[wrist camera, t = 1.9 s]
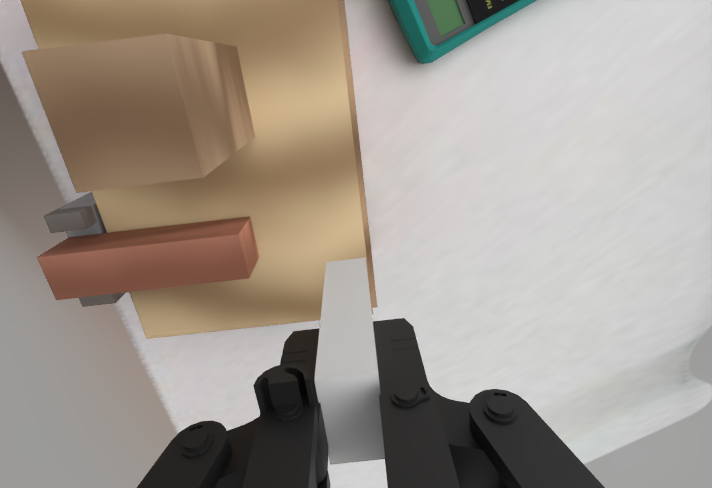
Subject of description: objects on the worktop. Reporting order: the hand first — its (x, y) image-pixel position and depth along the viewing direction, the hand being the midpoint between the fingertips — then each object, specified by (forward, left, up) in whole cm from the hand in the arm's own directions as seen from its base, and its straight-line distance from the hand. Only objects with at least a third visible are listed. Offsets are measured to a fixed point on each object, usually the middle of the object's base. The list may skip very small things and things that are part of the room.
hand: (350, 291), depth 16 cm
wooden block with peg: (-4, -6, -8) cm, 11 cm away
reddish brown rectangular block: (0, -10, -6) cm, 12 cm away
